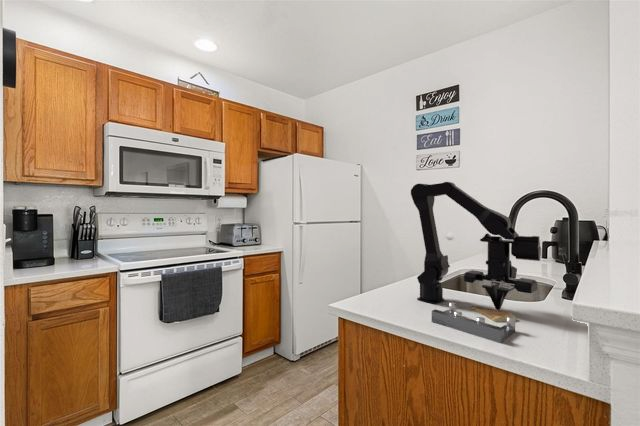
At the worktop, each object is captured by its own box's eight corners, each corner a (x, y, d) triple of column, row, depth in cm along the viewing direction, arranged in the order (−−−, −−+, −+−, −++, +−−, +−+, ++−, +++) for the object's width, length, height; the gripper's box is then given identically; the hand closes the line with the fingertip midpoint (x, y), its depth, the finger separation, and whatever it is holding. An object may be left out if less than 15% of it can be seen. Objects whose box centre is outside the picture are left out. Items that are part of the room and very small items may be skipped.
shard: (471, 310, 100) (471, 304, 100) (495, 309, 100) (495, 303, 100) (493, 323, 89) (493, 317, 89) (519, 322, 89) (519, 316, 89)
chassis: (431, 321, 90) (431, 309, 89) (450, 313, 96) (450, 301, 96) (500, 343, 76) (500, 328, 75) (517, 331, 82) (517, 318, 82)
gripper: (544, 257, 93) (543, 311, 94) (478, 250, 108) (478, 297, 108) (530, 263, 86) (530, 320, 87) (462, 254, 101) (462, 304, 101)
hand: (498, 309), depth 96 cm, fingers closed
